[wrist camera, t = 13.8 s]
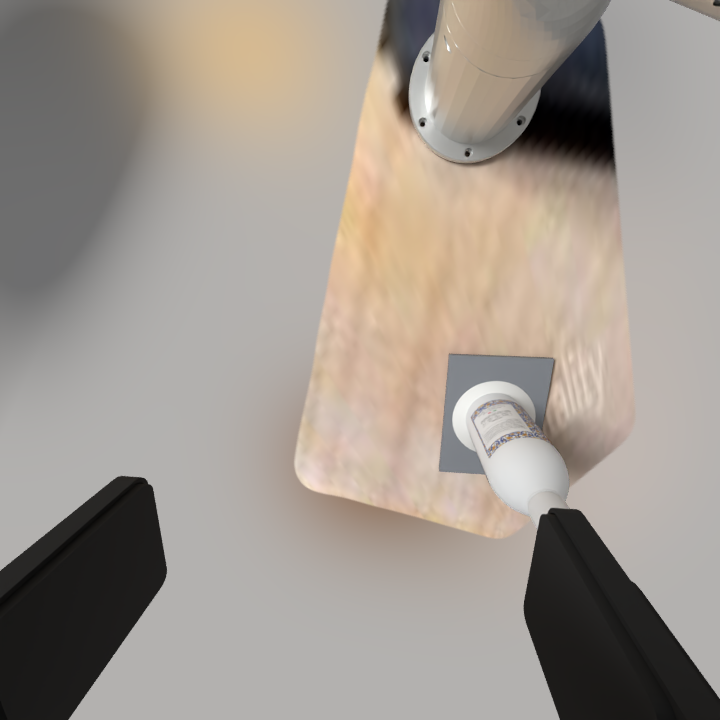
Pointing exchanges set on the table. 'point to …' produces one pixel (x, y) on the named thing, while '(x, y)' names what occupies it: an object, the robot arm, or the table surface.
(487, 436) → the bath foam
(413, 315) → the table surface
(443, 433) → the rubber mat
